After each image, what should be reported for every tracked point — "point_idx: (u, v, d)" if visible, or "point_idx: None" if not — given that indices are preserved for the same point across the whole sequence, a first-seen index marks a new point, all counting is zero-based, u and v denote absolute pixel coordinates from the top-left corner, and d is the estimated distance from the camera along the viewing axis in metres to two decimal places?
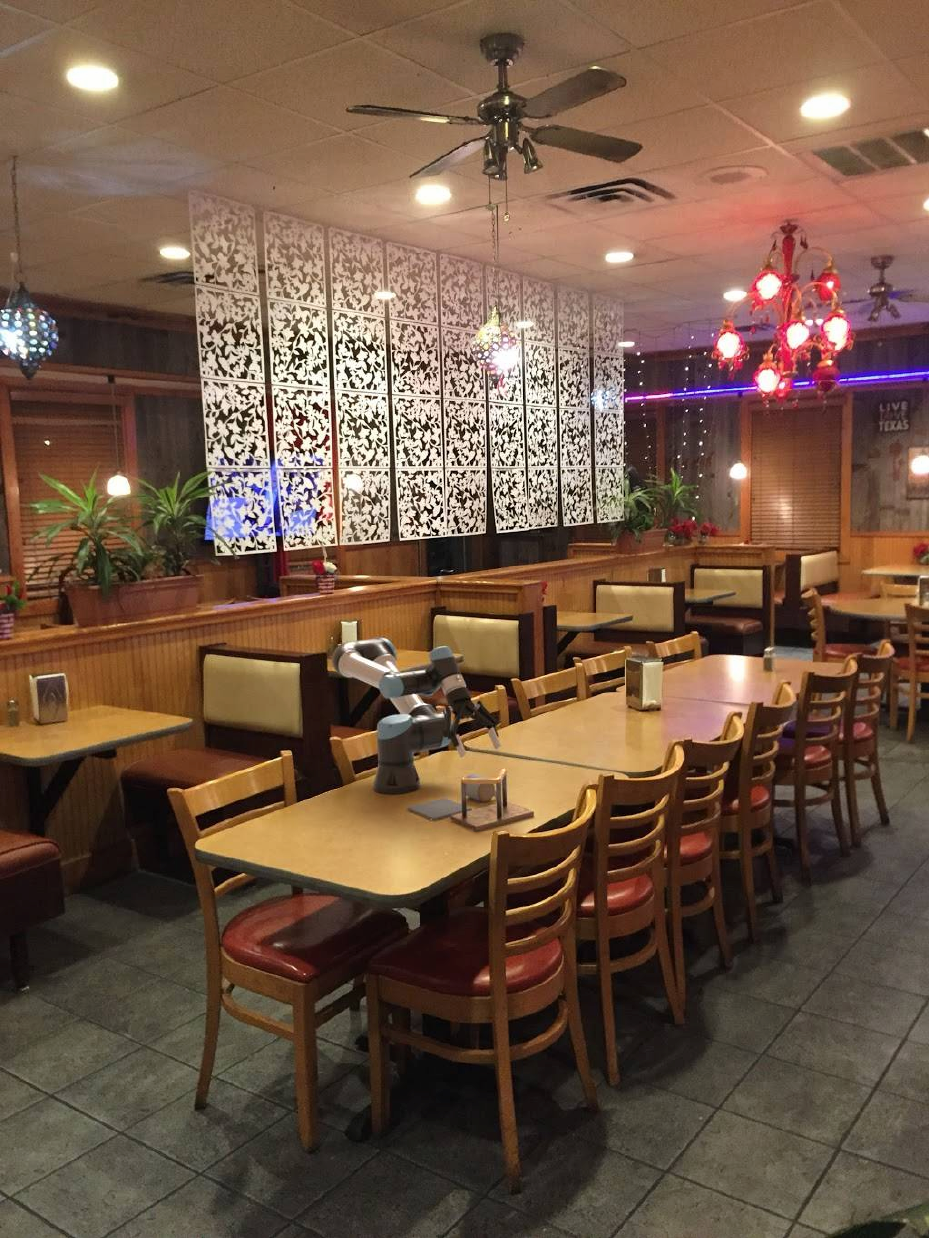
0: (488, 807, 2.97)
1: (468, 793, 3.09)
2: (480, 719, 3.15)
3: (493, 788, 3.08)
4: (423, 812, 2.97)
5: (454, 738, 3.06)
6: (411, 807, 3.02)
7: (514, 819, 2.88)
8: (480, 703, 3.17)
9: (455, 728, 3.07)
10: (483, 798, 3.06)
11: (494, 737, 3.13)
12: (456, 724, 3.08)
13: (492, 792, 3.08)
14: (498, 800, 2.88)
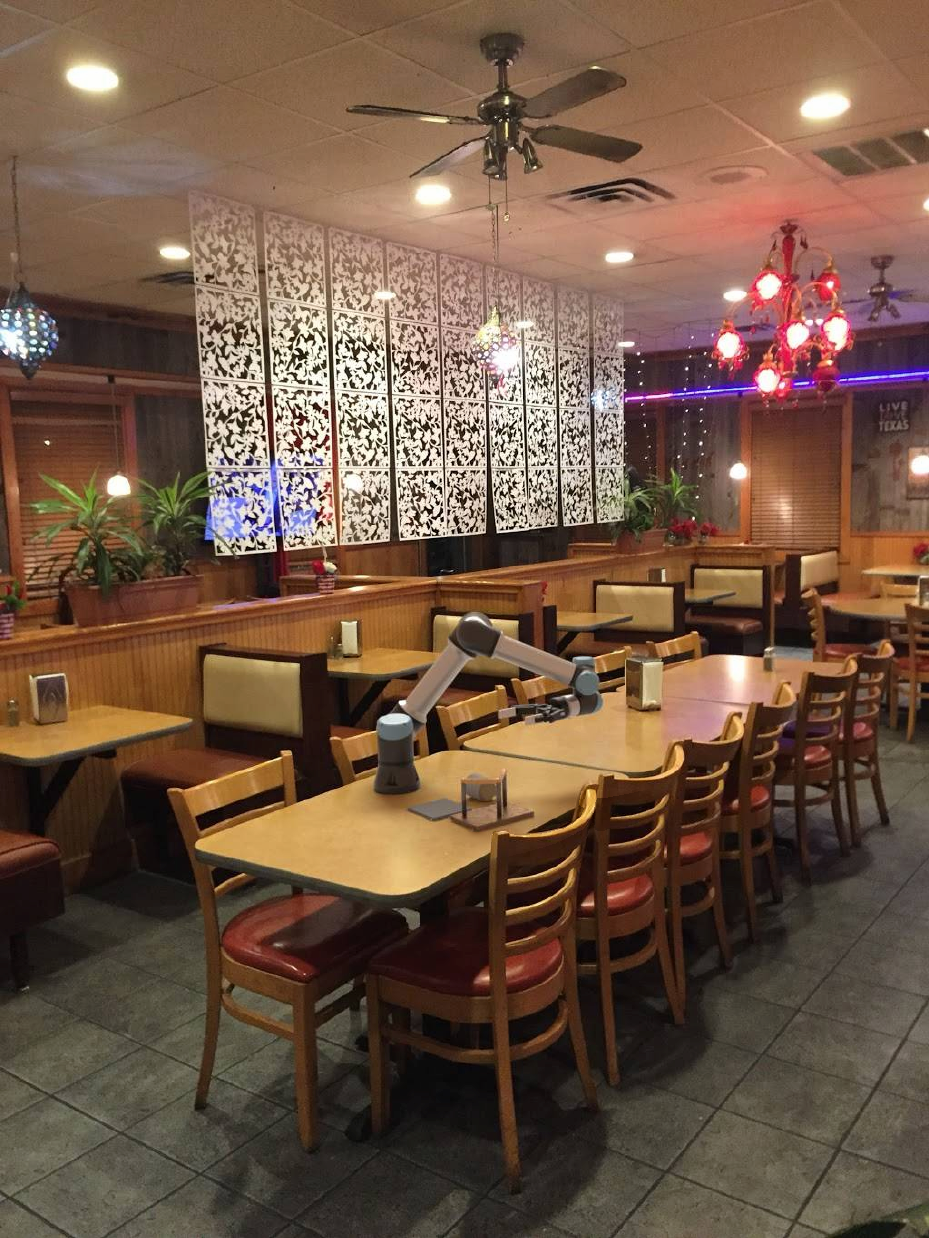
0: (488, 807, 2.97)
1: (469, 793, 3.09)
2: (528, 712, 3.25)
3: (494, 788, 3.09)
4: (423, 812, 2.97)
5: None
6: (411, 807, 3.02)
7: (514, 819, 2.88)
8: None
9: None
10: (484, 798, 3.07)
11: (508, 715, 3.23)
12: None
13: (493, 792, 3.09)
14: (498, 800, 2.88)
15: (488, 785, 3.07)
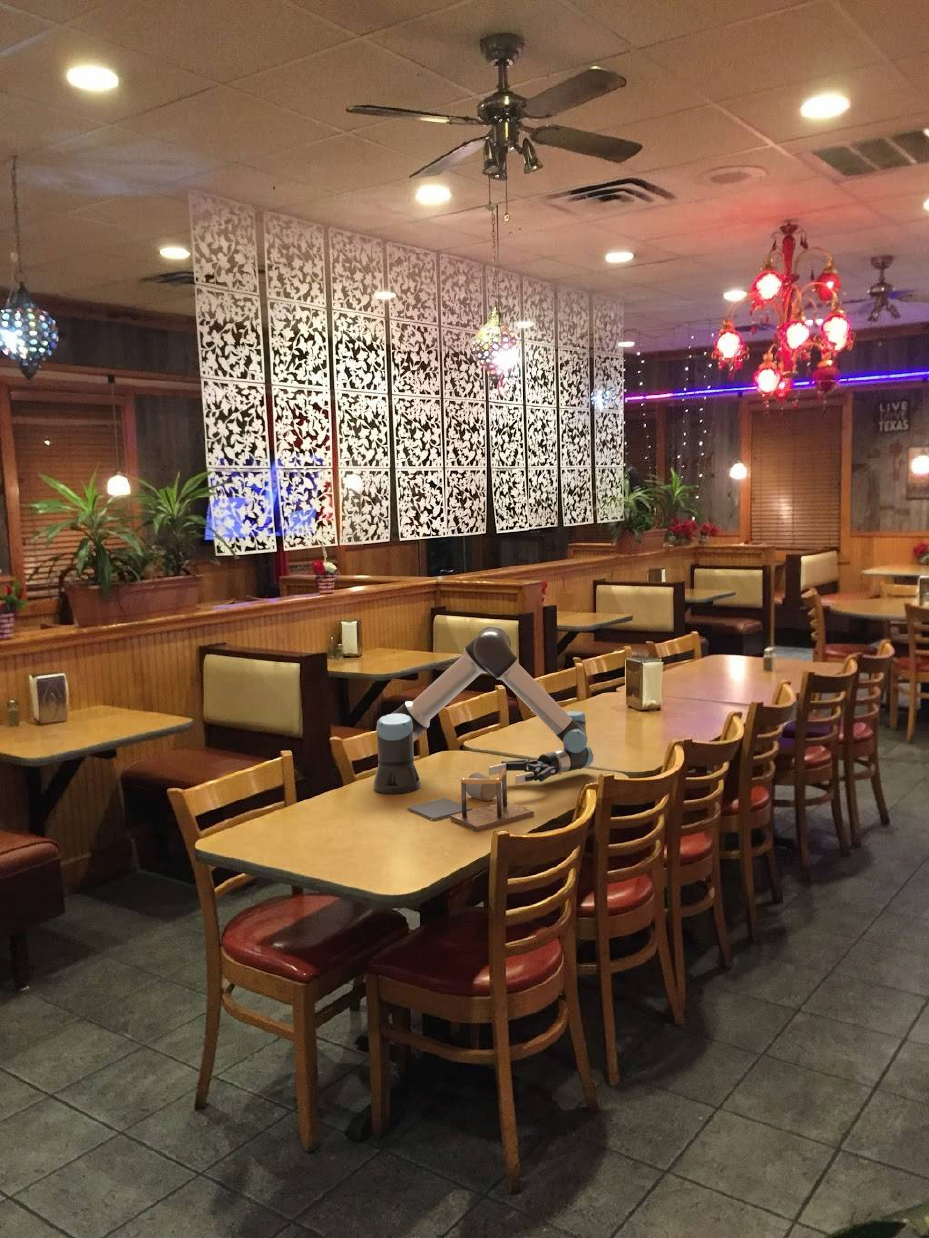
0: (488, 807, 2.97)
1: (471, 792, 3.10)
2: (518, 768, 3.25)
3: None
4: (423, 812, 2.97)
5: (532, 779, 3.12)
6: (411, 807, 3.02)
7: (514, 819, 2.88)
8: None
9: None
10: (486, 797, 3.07)
11: (498, 771, 3.22)
12: None
13: (495, 791, 3.09)
14: (498, 800, 2.88)
15: (489, 785, 3.07)
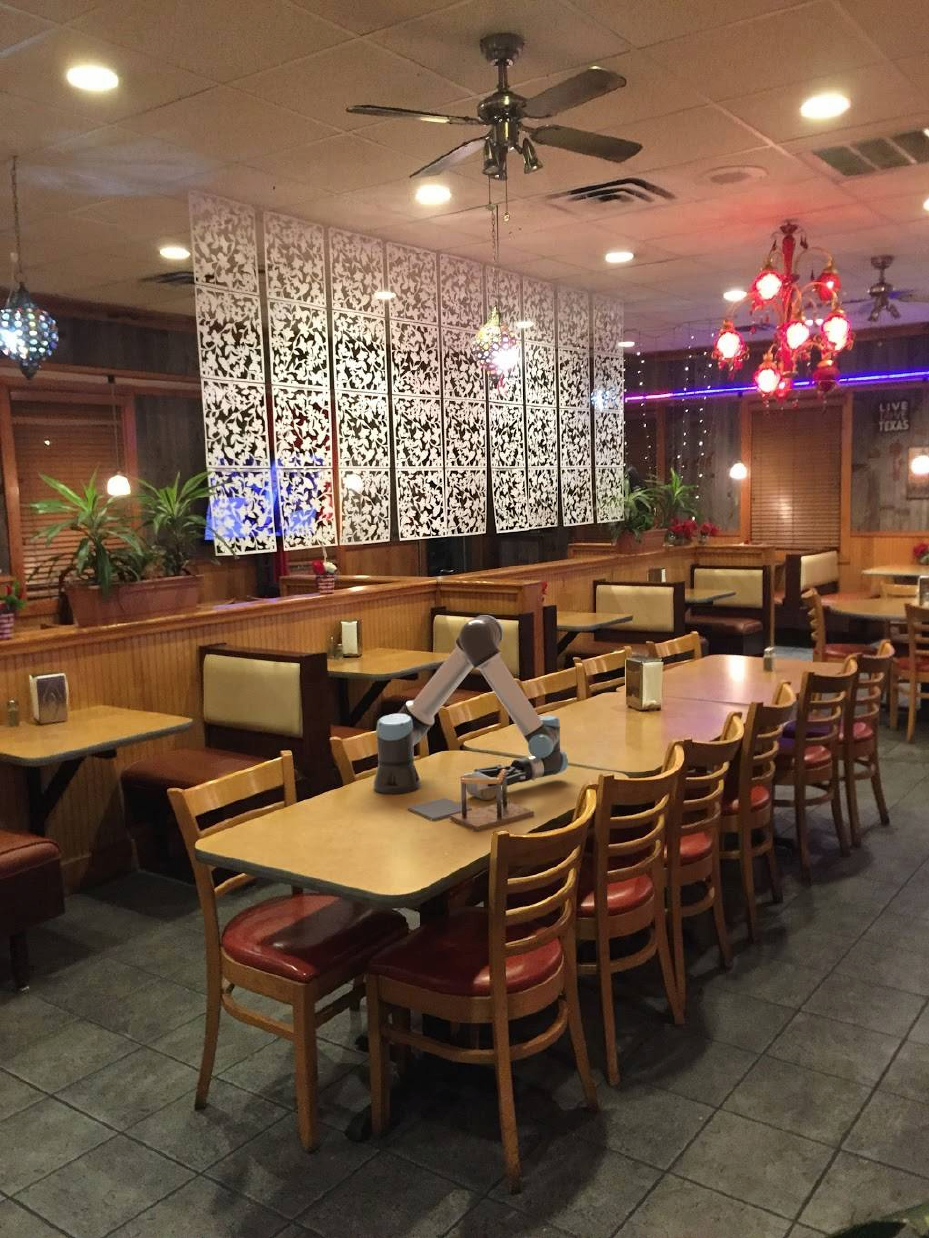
0: (488, 807, 2.97)
1: (471, 791, 3.10)
2: (492, 775, 3.17)
3: None
4: (423, 812, 2.97)
5: None
6: (411, 807, 3.02)
7: (514, 819, 2.88)
8: None
9: None
10: (486, 796, 3.07)
11: None
12: None
13: (495, 790, 3.09)
14: (498, 800, 2.88)
15: None
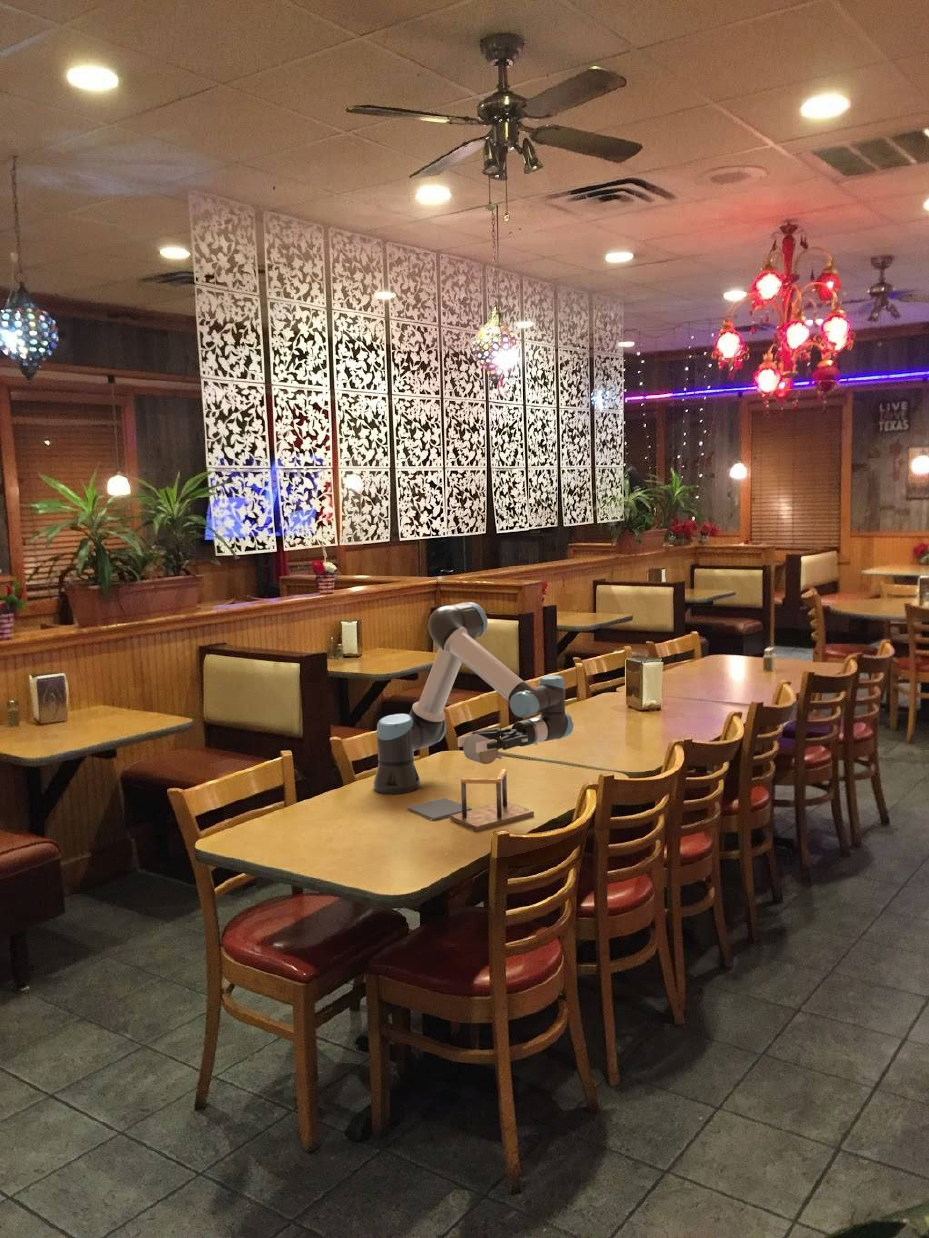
0: (488, 807, 2.97)
1: (469, 755, 2.86)
2: (491, 738, 2.93)
3: (496, 749, 2.85)
4: (423, 812, 2.97)
5: (495, 747, 2.83)
6: (411, 807, 3.02)
7: (514, 819, 2.88)
8: None
9: None
10: (485, 760, 2.83)
11: None
12: None
13: (495, 754, 2.85)
14: (498, 800, 2.88)
15: None
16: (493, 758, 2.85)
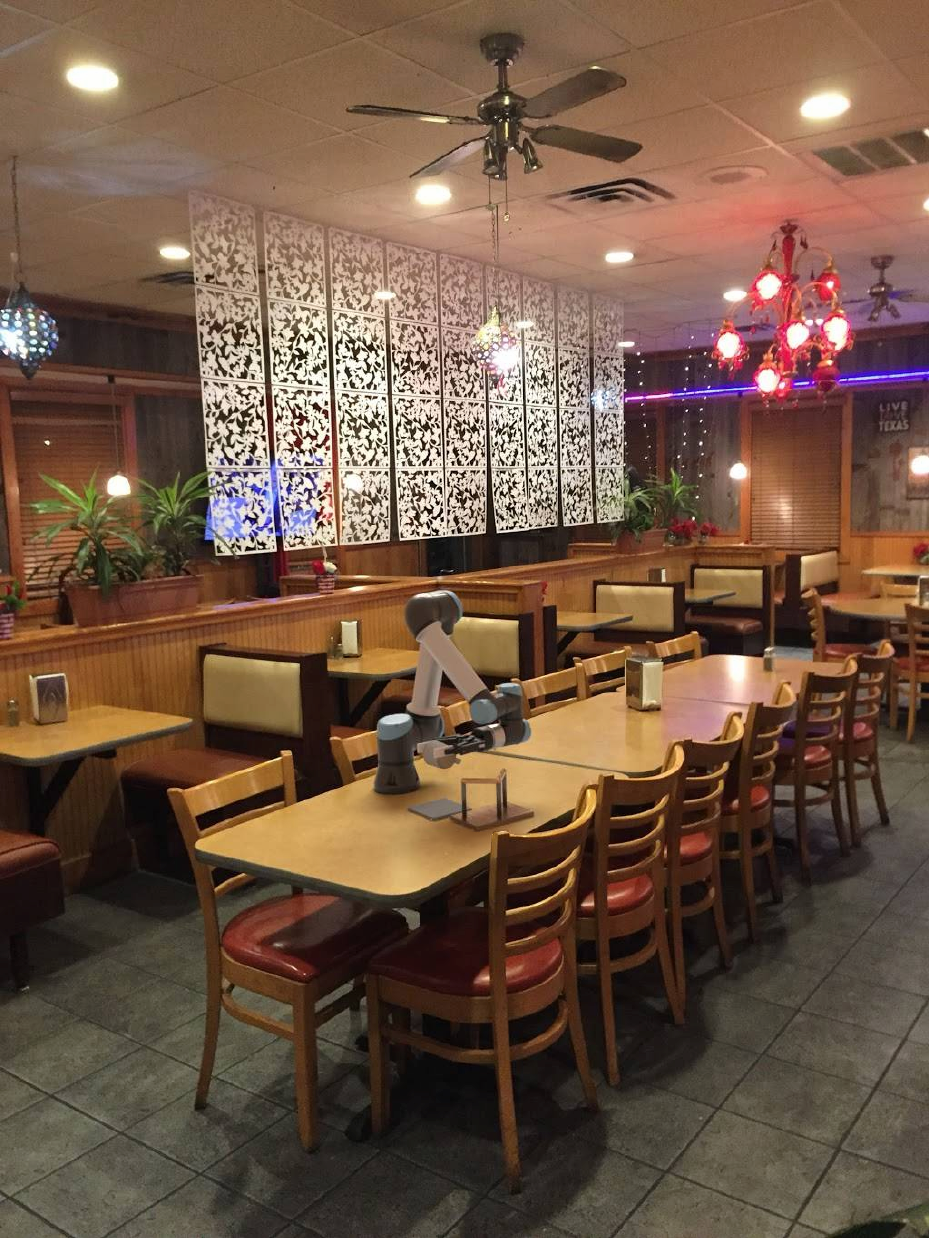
0: (488, 807, 2.97)
1: (428, 760, 2.98)
2: (451, 744, 3.04)
3: (454, 755, 2.97)
4: (423, 812, 2.97)
5: None
6: (411, 807, 3.02)
7: (514, 819, 2.88)
8: None
9: None
10: (443, 765, 2.95)
11: None
12: None
13: (453, 759, 2.97)
14: (498, 800, 2.88)
15: None
16: (451, 763, 2.96)
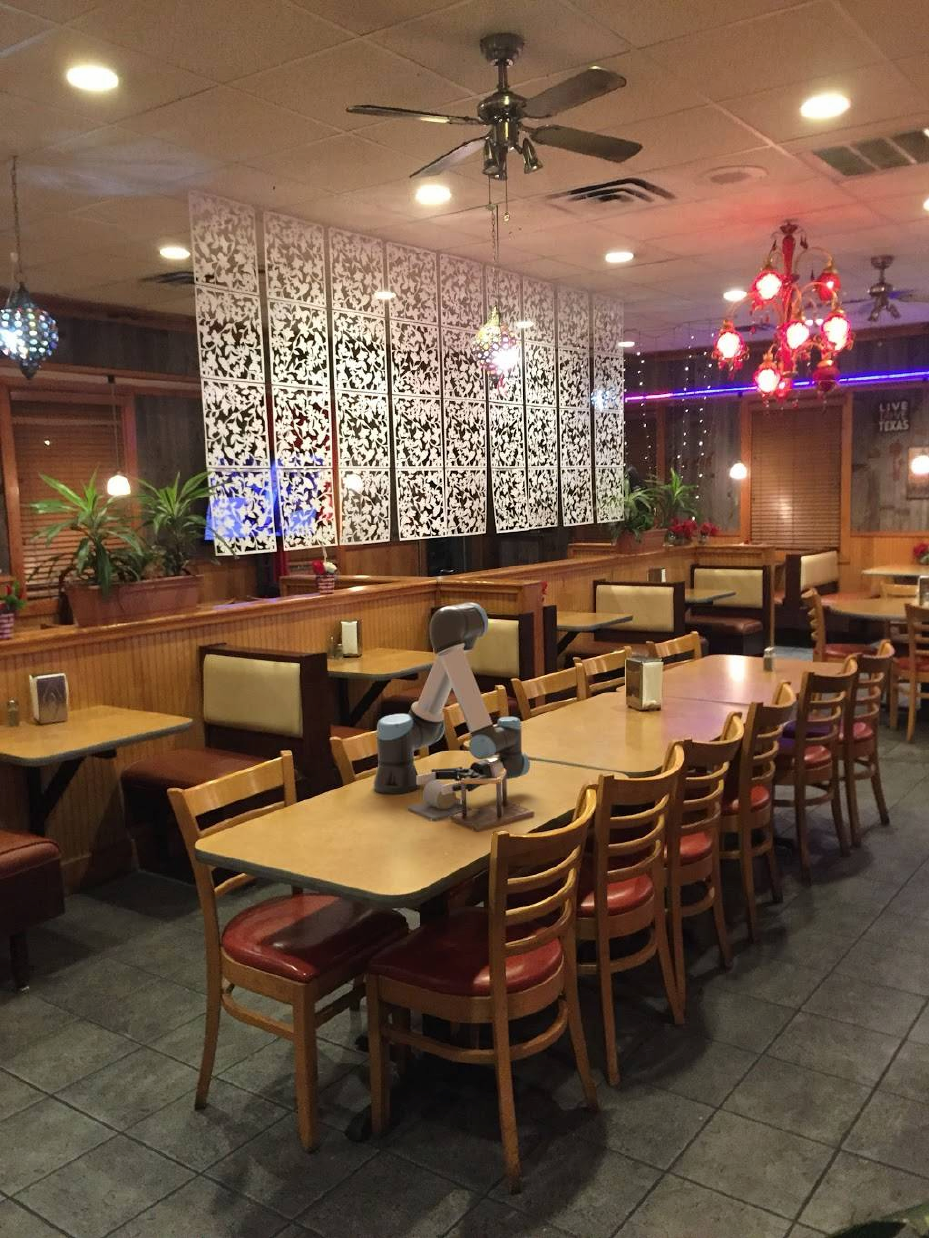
0: (488, 807, 2.97)
1: (428, 801, 2.99)
2: (449, 777, 3.07)
3: (454, 796, 2.99)
4: (423, 812, 2.97)
5: None
6: (411, 807, 3.02)
7: (514, 819, 2.88)
8: None
9: None
10: (443, 806, 2.97)
11: (427, 780, 3.05)
12: None
13: (453, 800, 2.99)
14: (498, 800, 2.88)
15: None
16: (451, 804, 2.98)
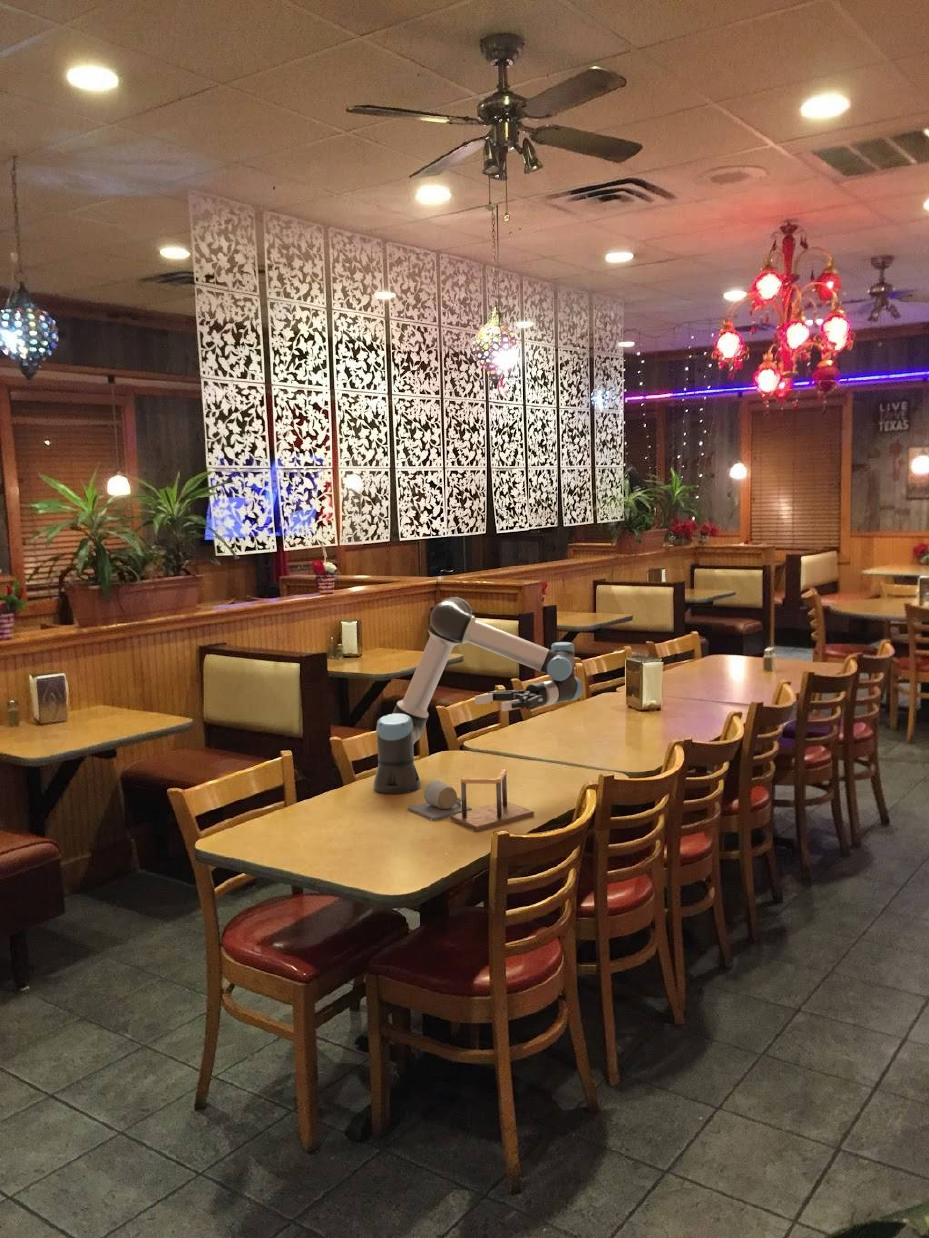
0: (488, 807, 2.97)
1: (429, 800, 3.00)
2: (505, 698, 3.18)
3: (455, 795, 2.99)
4: (423, 812, 2.97)
5: (519, 707, 3.06)
6: (411, 807, 3.02)
7: (514, 819, 2.88)
8: None
9: None
10: (444, 806, 2.97)
11: (484, 701, 3.16)
12: None
13: (454, 799, 2.99)
14: (498, 800, 2.88)
15: (448, 793, 2.97)
16: (452, 804, 2.99)
